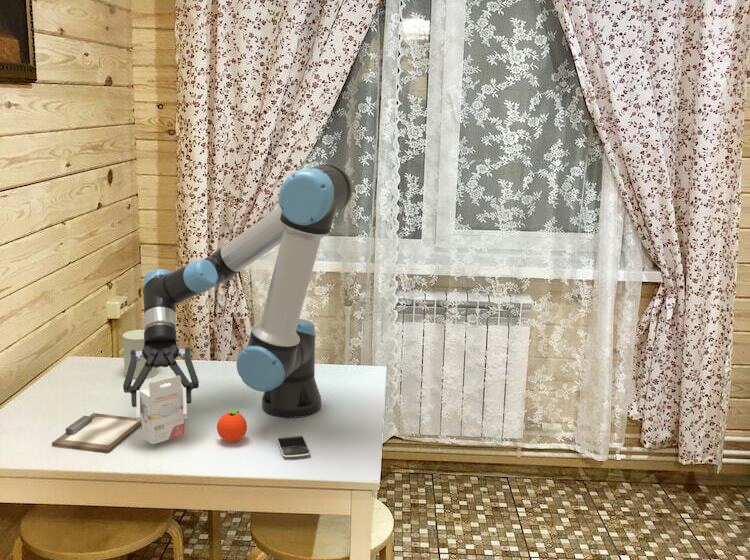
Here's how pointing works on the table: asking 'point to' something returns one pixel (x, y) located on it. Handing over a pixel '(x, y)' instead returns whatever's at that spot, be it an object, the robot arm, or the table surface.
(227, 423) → the clementine
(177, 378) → the ink cartridge box
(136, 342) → the can
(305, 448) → the cell phone
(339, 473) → the table surface
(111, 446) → the clipboard
